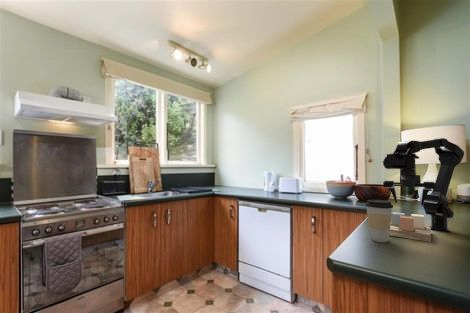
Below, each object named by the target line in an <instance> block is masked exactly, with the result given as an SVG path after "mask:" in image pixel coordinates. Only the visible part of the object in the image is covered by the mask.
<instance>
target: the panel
mask: <svg viewBox="0 0 470 313" xmlns="http://www.w3.org/2000/svg"><path fill="white" fill-rule="evenodd" d="M390 236H392V237H397V238H405V239H412V240H415V241H416V240H417V241H422V242H423V241H425V242H429V243H431V242H432V240H431V239H432V238H431V236H432V235H431V229H430V226H425V229H421V228H414V231H406V230H400V226H397V225H392V221H391V225H390V231H389V237H390Z"/></svg>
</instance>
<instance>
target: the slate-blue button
mask: <svg viewBox="0 0 470 313" xmlns="http://www.w3.org/2000/svg"><path fill="white" fill-rule="evenodd" d="M400 216H406V214H405V213H404V212H396V211H395V212H394V211H393V212H392V211H391V222H392V225H397V226H400Z"/></svg>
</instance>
